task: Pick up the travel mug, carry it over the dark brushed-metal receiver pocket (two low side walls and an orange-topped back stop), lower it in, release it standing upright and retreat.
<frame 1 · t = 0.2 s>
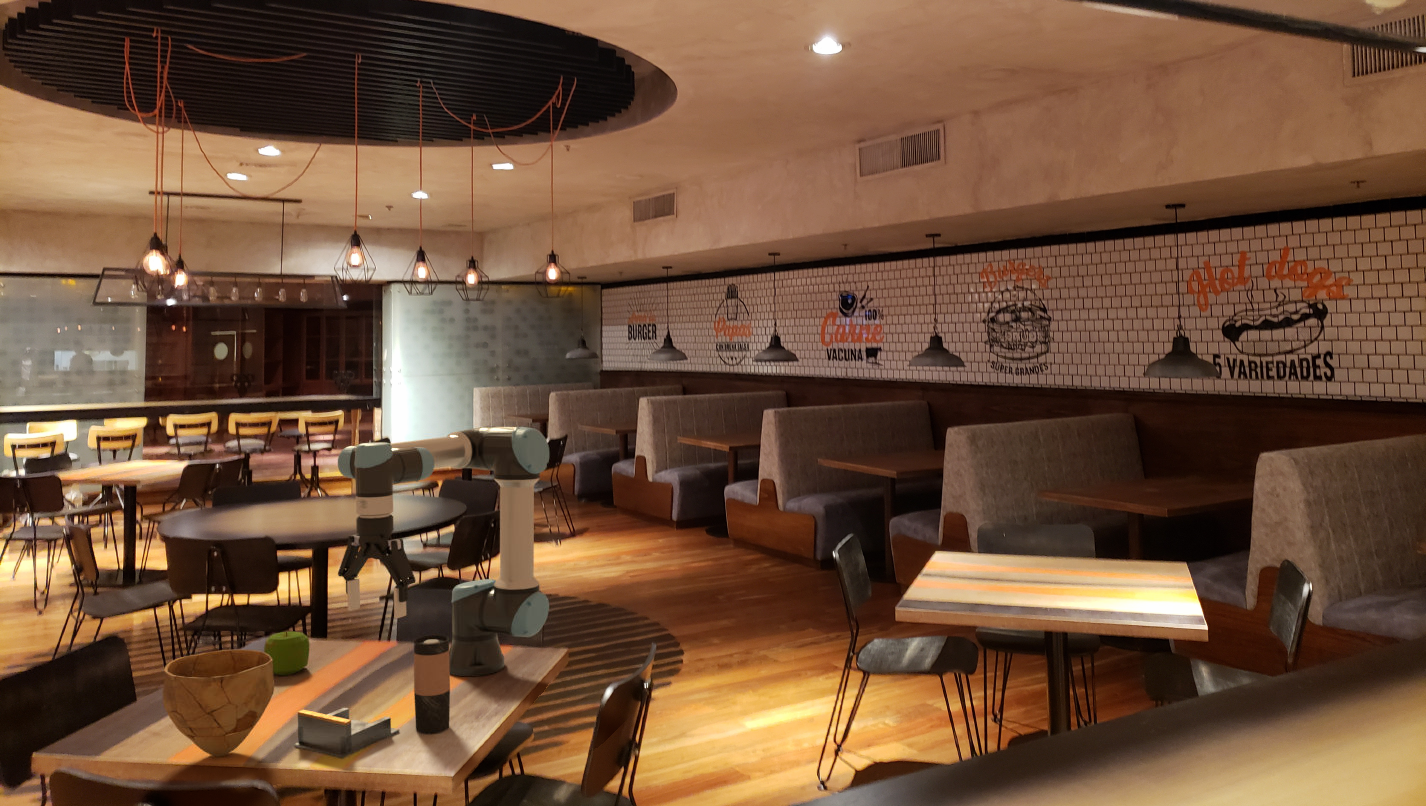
hand: (376, 613, 210), 28 cm above the table, fingers open, 13 cm apart
bowl: (220, 756, 202), on the table
apple: (287, 671, 258), on the table
travel mug: (432, 729, 217), on the table
receiver: (347, 739, 211), on the table
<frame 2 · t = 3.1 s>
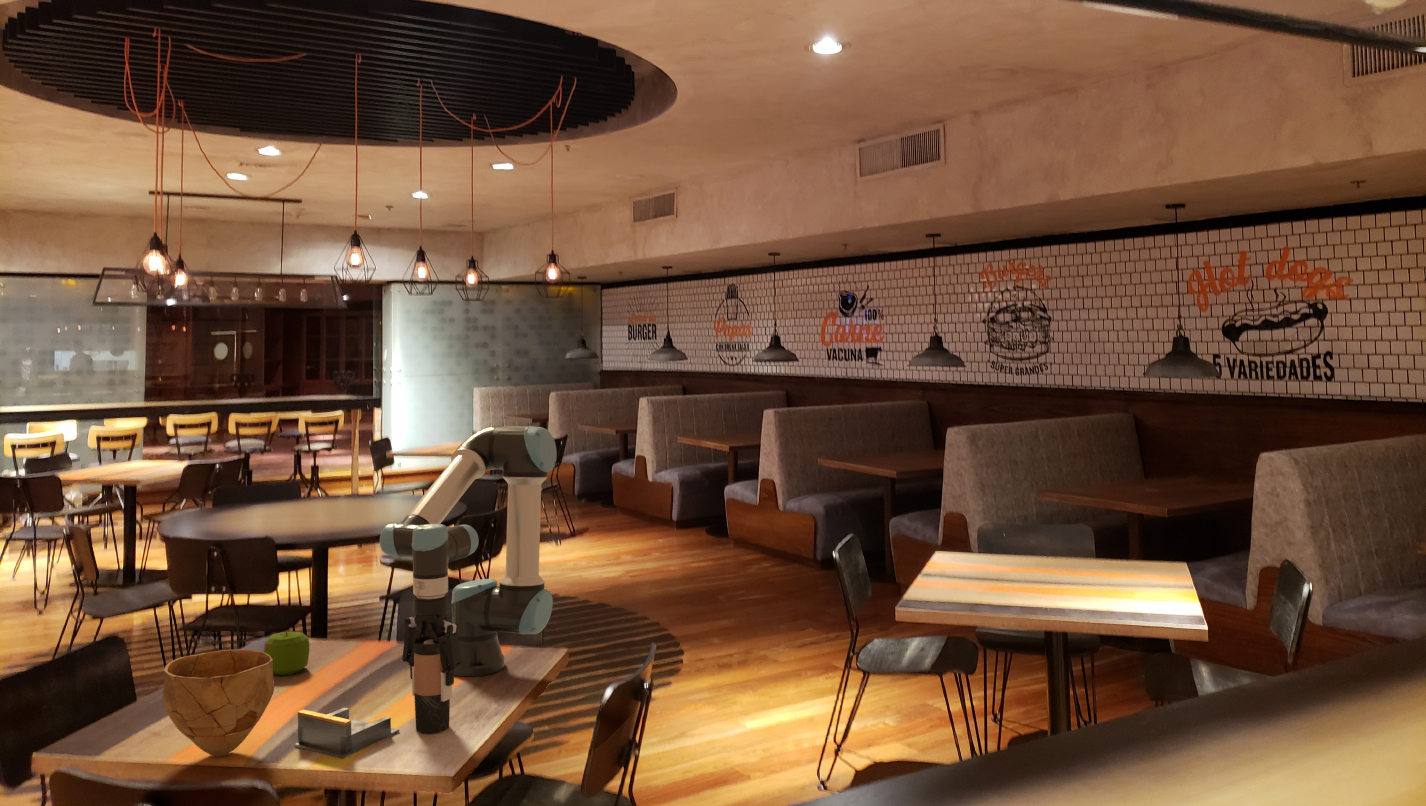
hand: (432, 696, 217), 7 cm above the table, fingers closed on travel mug, 8 cm apart
travel mug: (432, 729, 217), on the table, touching gripper
everything else where it was.
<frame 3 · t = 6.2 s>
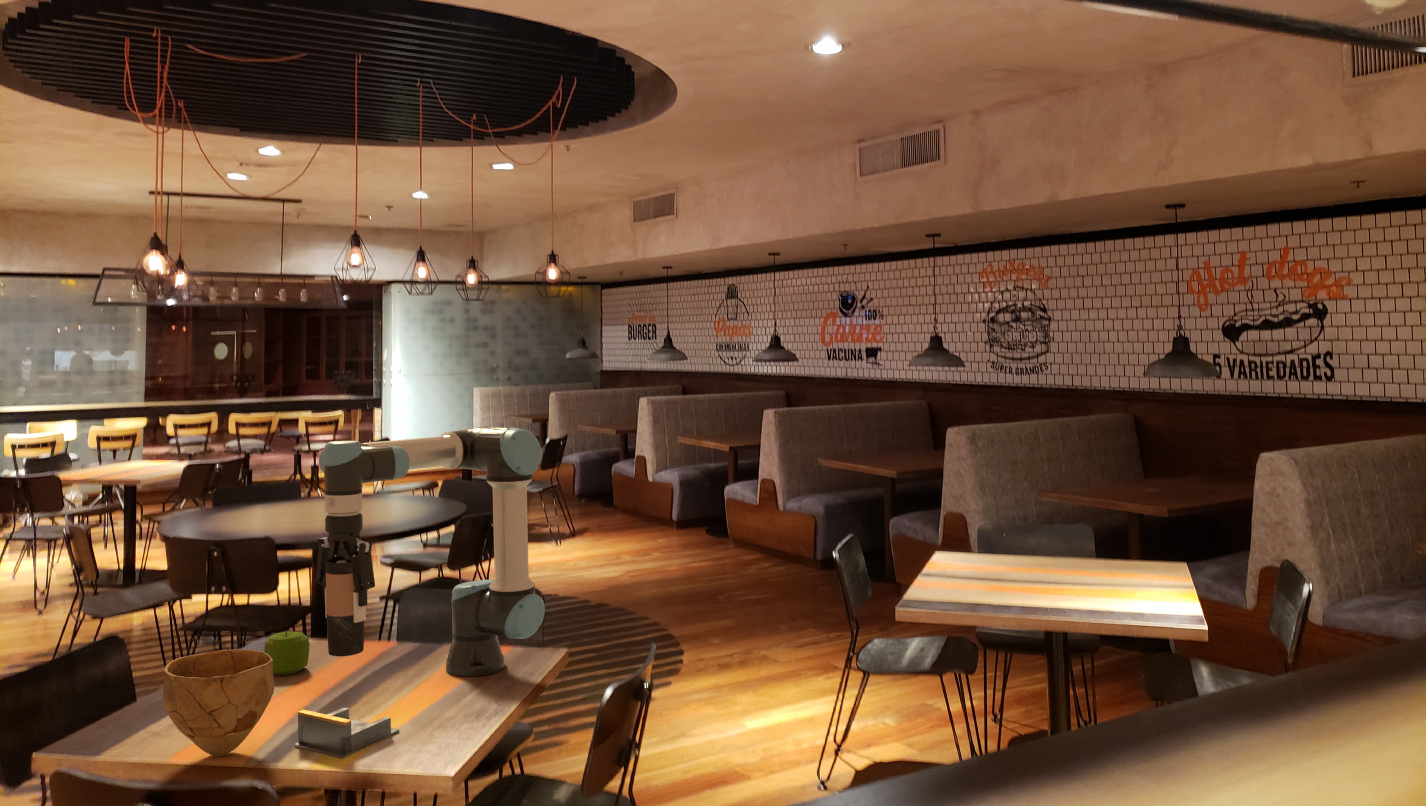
hand: (345, 618, 210), 26 cm above the table, fingers closed on travel mug, 8 cm apart
travel mug: (346, 652, 210), point 19 cm above the table, touching gripper
everything else where it was.
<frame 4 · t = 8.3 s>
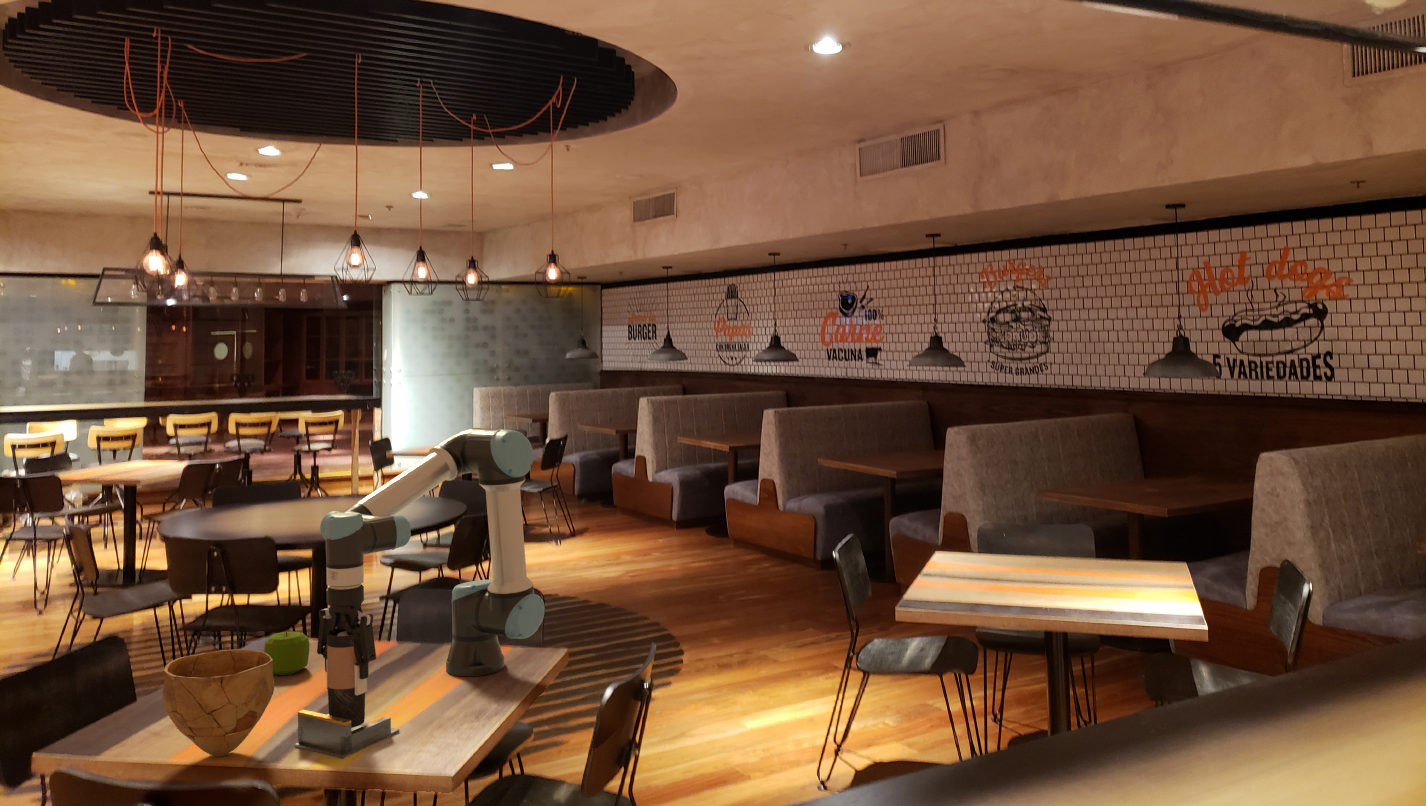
hand: (346, 690, 210), 11 cm above the table, fingers closed on travel mug, 8 cm apart
travel mug: (347, 724, 211), point 3 cm above the table, touching gripper
everything else where it was.
when the fingers open (9 cm above the table, at t = 9.1 s): travel mug drops 1 cm, resting on receiver.
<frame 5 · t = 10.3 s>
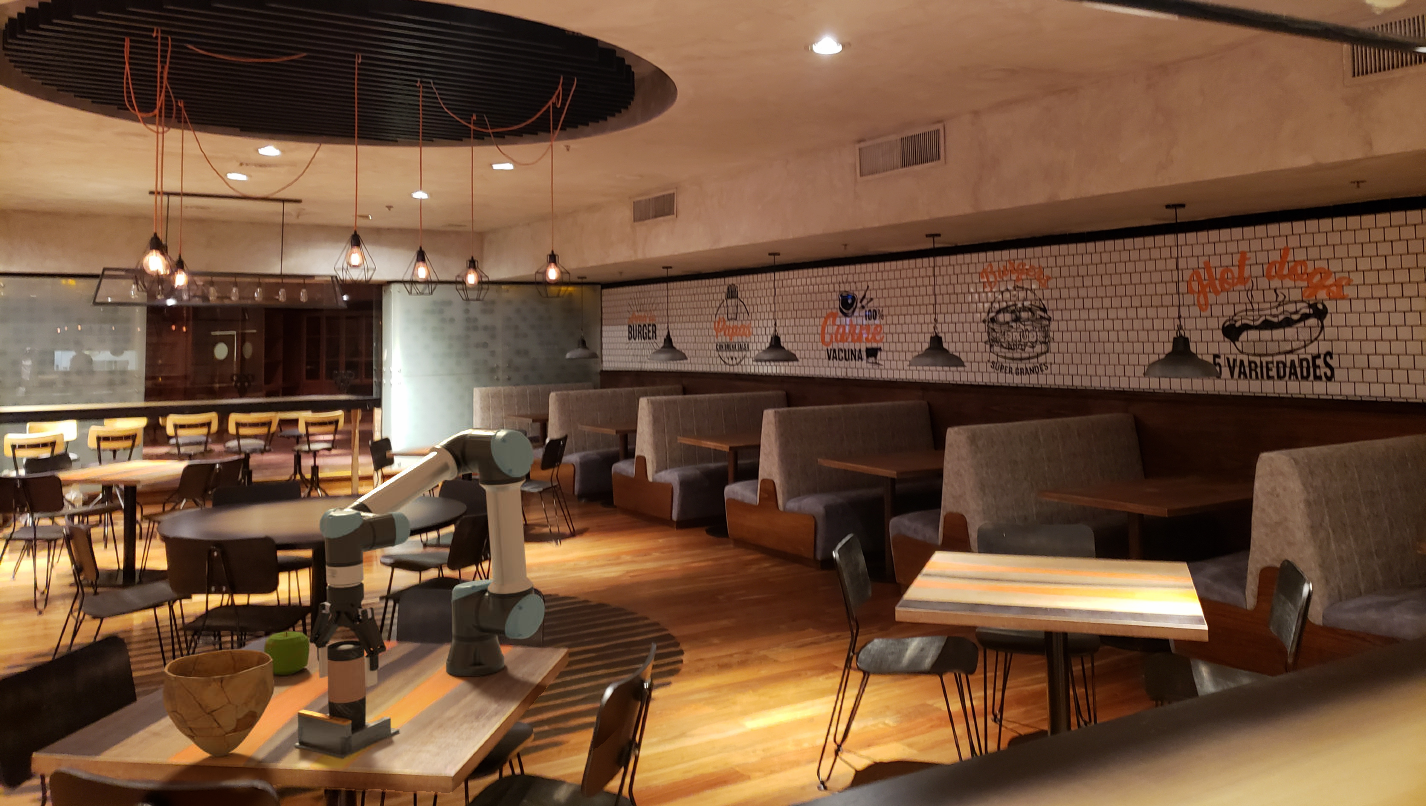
hand: (348, 680, 211), 13 cm above the table, fingers open, 13 cm apart
travel mug: (348, 737, 211), resting on receiver
everything else where it was.
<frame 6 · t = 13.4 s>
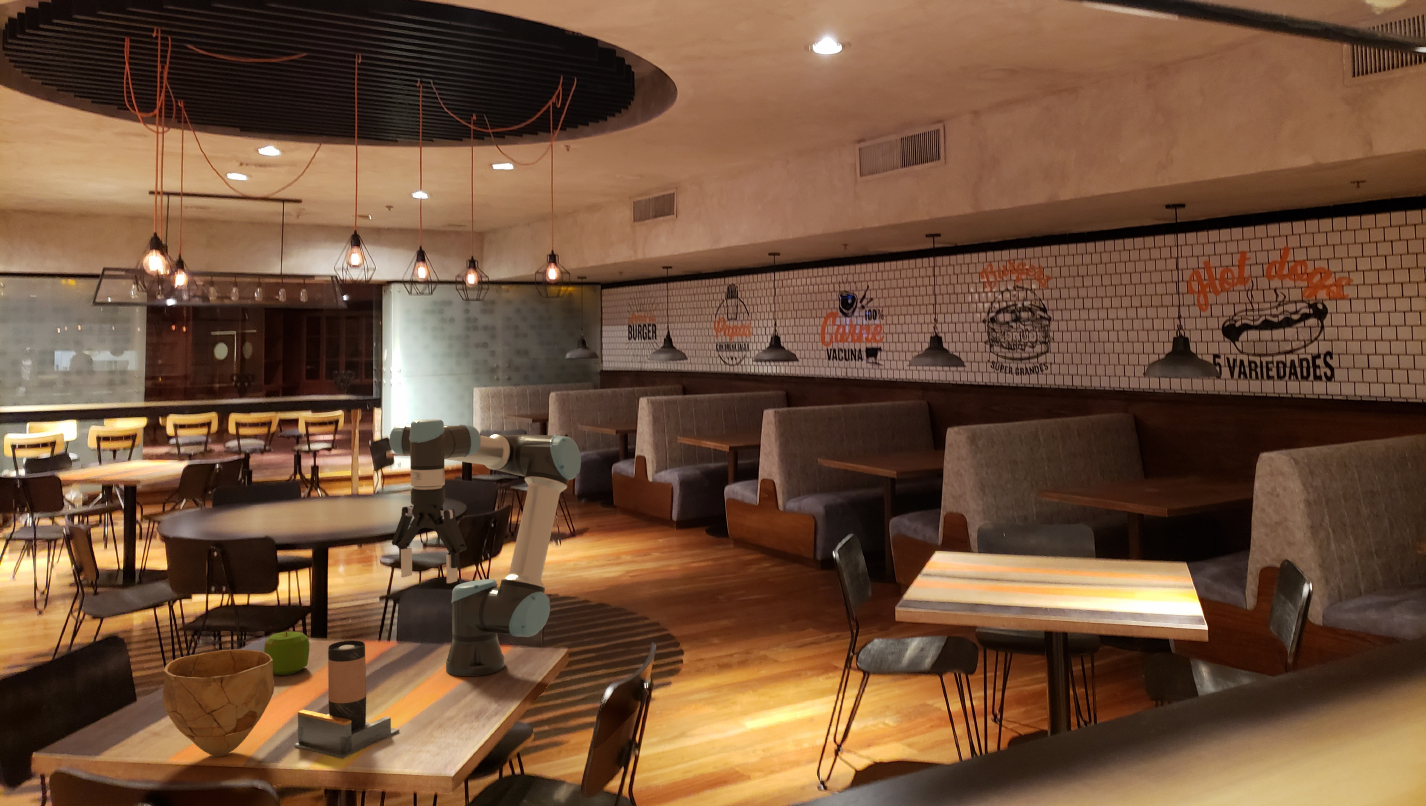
hand: (429, 579, 224), 32 cm above the table, fingers open, 13 cm apart
nothing on the table moved.
at the end: travel mug inside the target area (0.0 cm from its centre), resting on receiver; travel mug tilted 0°; the gripper is holding nothing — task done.
